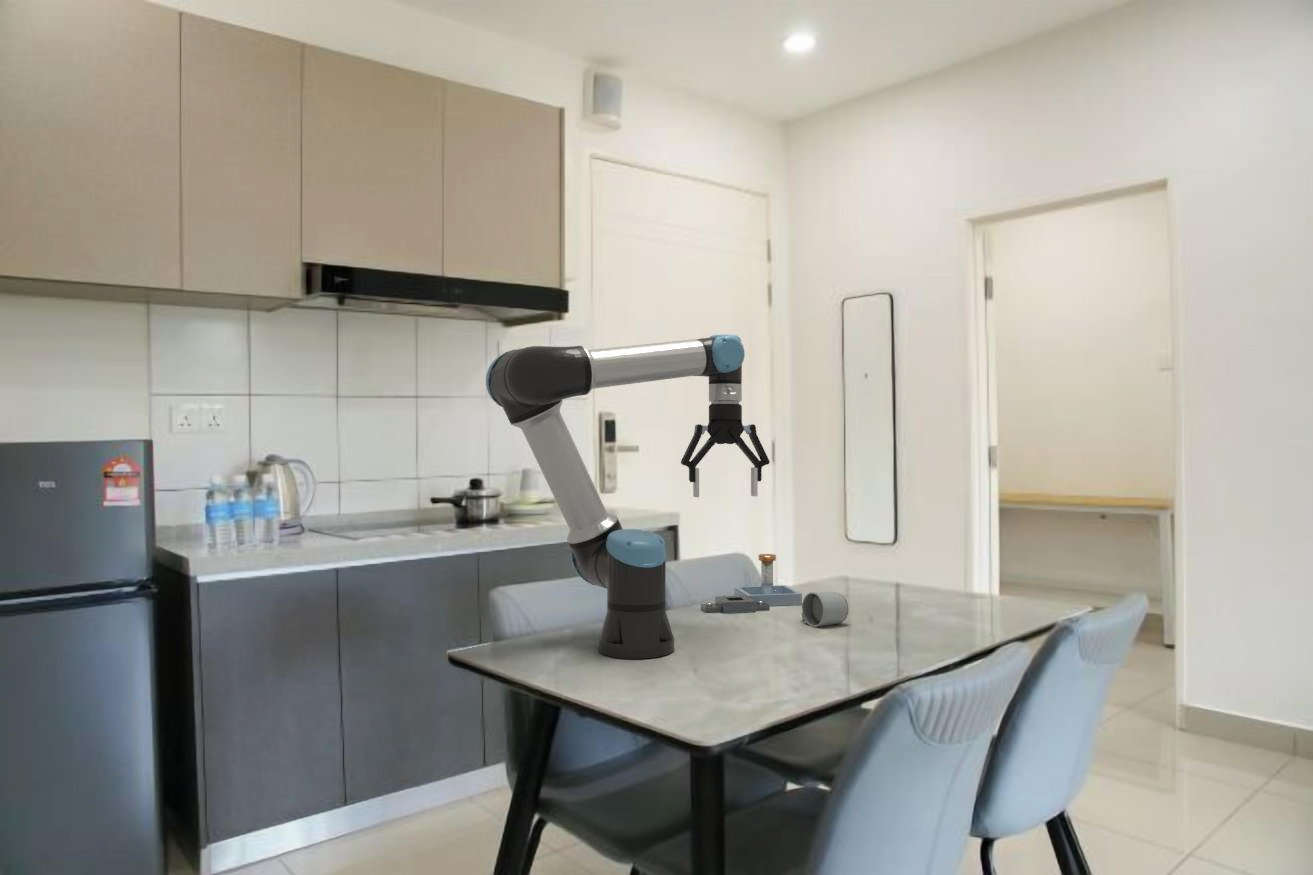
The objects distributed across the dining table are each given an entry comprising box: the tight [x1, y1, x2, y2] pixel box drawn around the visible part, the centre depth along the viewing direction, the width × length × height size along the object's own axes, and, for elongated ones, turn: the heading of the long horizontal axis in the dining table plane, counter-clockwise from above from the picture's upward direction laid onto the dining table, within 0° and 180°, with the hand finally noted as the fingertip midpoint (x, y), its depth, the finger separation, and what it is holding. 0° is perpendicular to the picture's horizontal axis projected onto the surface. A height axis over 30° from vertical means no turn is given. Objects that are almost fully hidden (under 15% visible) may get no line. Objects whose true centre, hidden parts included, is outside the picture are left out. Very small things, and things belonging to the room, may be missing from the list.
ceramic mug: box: [801, 591, 849, 628], centre depth 205 cm, size 11×8×8 cm
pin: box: [758, 553, 777, 595], centre depth 232 cm, size 4×4×11 cm
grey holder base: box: [700, 595, 771, 614], centre depth 221 cm, size 16×8×3 cm, turn 100°
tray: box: [733, 584, 803, 607], centre depth 232 cm, size 14×13×3 cm
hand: (725, 496), depth 206 cm, fingers open, 13 cm apart
